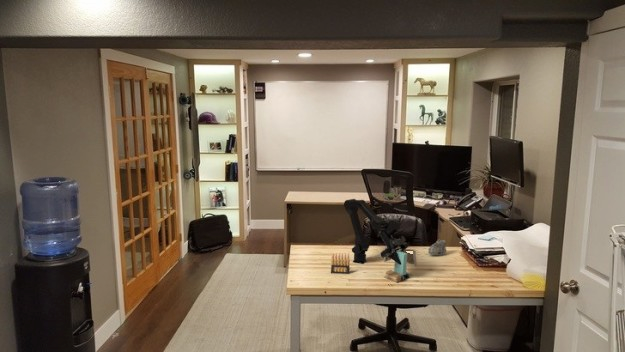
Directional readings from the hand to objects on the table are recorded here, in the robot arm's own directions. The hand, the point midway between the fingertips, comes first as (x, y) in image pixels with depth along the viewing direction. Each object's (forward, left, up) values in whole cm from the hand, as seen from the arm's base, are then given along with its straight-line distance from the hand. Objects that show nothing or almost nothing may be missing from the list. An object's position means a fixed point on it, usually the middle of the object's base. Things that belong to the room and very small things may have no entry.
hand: (402, 263), depth 238 cm
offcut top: (-3, -5, -6) cm, 8 cm away
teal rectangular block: (-1, 0, -6) cm, 6 cm away
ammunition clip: (-34, -8, -9) cm, 36 cm away
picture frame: (-10, +34, -10) cm, 37 cm away
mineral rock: (+11, +49, -9) cm, 51 cm away
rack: (-2, -2, -9) cm, 9 cm away
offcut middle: (-4, -4, -7) cm, 9 cm away
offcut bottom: (-4, -5, -8) cm, 10 cm away
